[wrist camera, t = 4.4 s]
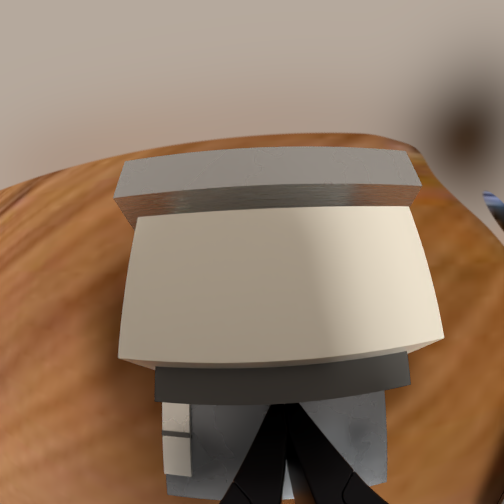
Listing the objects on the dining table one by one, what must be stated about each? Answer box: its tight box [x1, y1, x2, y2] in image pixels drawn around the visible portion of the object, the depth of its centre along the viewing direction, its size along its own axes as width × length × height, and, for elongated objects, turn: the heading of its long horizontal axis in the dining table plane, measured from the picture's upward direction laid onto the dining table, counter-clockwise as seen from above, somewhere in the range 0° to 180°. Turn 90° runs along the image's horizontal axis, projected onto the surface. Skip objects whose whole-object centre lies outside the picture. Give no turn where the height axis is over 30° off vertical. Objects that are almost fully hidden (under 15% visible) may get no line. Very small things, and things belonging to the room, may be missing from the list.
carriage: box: [118, 206, 444, 405], centre depth 11 cm, size 5×10×9 cm, turn 92°
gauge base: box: [113, 147, 422, 500], centre depth 11 cm, size 15×12×9 cm
